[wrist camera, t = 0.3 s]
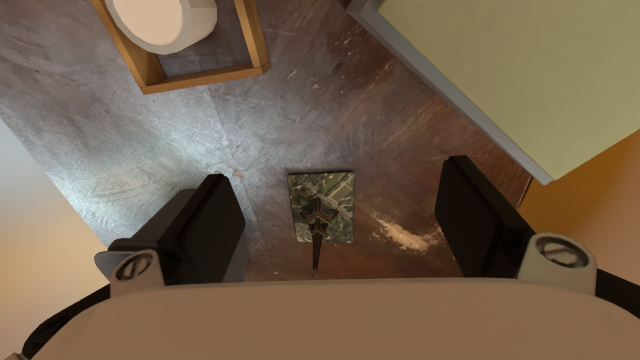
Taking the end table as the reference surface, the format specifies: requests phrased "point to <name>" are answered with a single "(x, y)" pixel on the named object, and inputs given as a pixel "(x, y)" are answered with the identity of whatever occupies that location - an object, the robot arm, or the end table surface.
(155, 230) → the storage bin
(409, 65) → the block
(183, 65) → the end table surface
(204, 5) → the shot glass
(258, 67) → the wooden frame
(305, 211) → the eiffel tower figurine
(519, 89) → the mat
